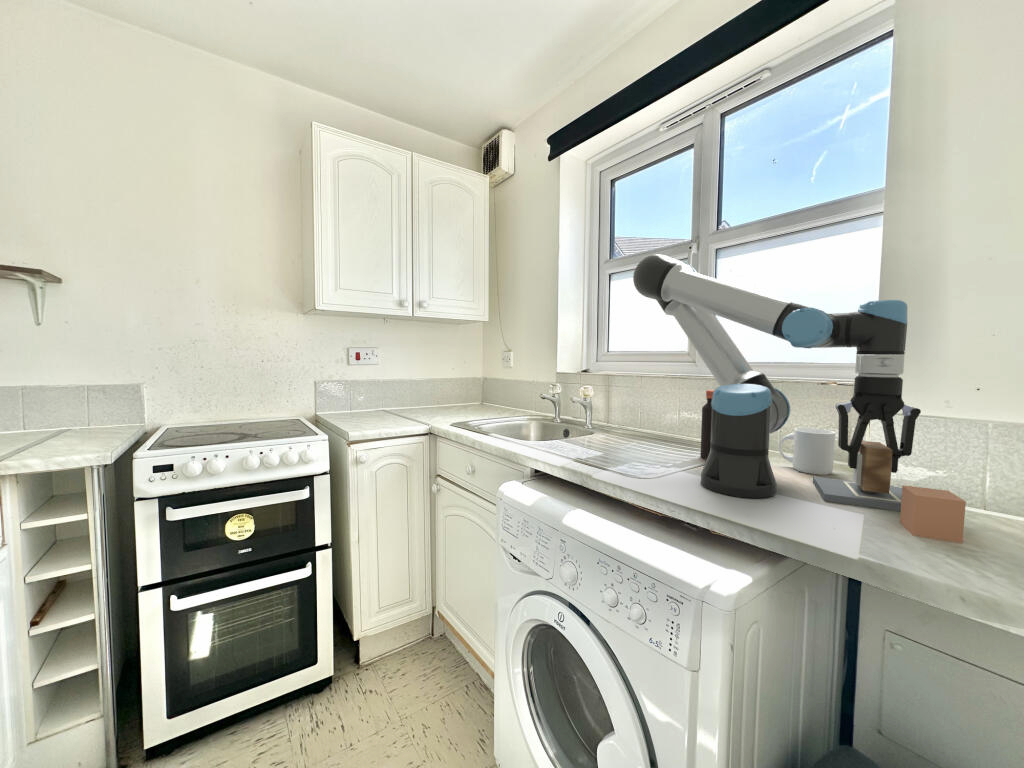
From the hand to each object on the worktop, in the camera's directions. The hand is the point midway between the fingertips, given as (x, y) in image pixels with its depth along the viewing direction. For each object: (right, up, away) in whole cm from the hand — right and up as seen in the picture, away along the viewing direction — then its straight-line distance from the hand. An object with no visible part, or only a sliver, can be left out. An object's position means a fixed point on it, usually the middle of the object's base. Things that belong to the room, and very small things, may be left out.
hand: (870, 484), depth 87 cm
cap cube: (-5, -4, -17) cm, 18 cm away
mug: (+2, -2, +22) cm, 22 cm away
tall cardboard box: (0, 0, 0) cm, 0 cm away
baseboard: (0, -3, 0) cm, 3 cm away
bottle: (-17, -1, +33) cm, 38 cm away
